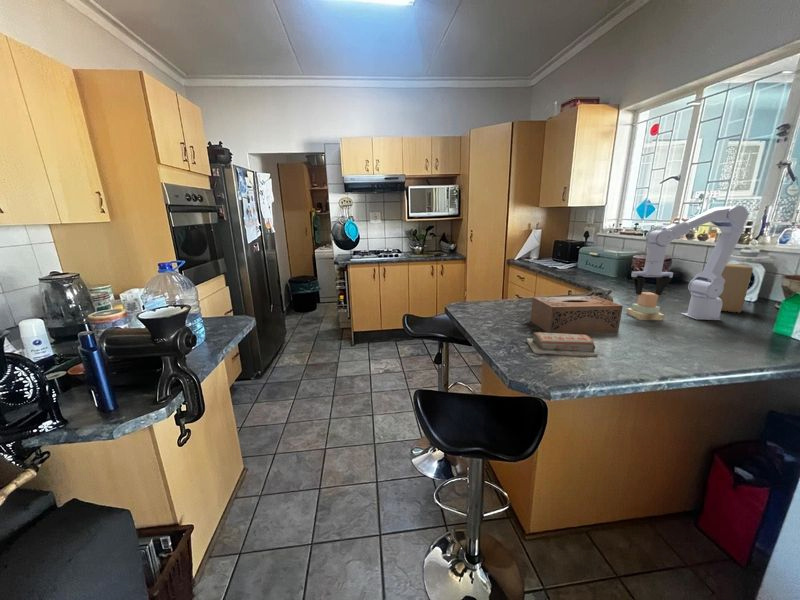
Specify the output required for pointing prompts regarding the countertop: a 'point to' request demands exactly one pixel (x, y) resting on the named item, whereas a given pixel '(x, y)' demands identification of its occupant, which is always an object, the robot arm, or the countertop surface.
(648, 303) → the terracotta cube
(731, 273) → the wooden block
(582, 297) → the tissue box cover
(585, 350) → the packaged product
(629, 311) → the maple slab
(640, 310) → the sage block
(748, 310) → the countertop surface
